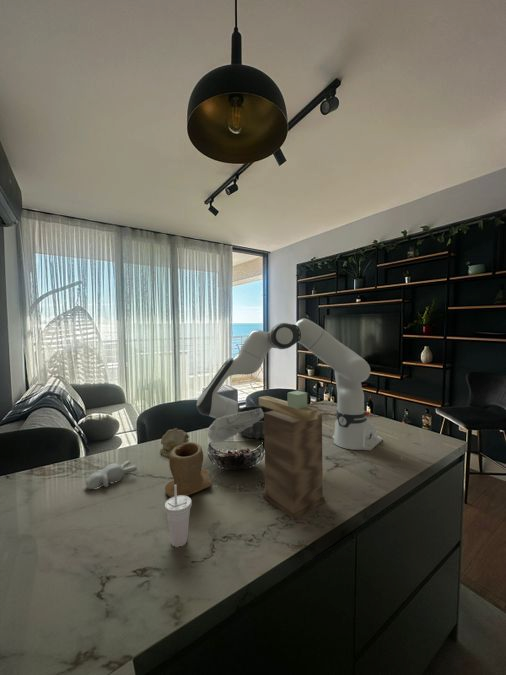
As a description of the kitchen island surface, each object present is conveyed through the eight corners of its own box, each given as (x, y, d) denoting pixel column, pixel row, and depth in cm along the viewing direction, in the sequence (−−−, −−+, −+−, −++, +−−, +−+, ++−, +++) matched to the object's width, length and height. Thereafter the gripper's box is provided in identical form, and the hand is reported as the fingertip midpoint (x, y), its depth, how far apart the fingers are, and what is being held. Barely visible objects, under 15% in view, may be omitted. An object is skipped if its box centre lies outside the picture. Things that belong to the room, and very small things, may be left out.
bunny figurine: (82, 472, 99) (127, 453, 109) (84, 487, 99) (129, 466, 110) (90, 483, 92) (137, 462, 102) (93, 498, 92) (139, 475, 103)
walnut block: (293, 483, 97) (292, 405, 96) (325, 501, 87) (324, 414, 86) (263, 497, 89) (261, 412, 88) (293, 519, 79) (292, 423, 78)
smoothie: (168, 533, 75) (166, 478, 74) (194, 531, 75) (192, 477, 75) (163, 552, 68) (161, 493, 68) (191, 550, 69) (189, 491, 68)
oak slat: (266, 403, 99) (266, 395, 99) (317, 418, 82) (317, 409, 82) (258, 404, 97) (258, 397, 97) (308, 421, 80) (308, 412, 80)
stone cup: (173, 508, 85) (172, 457, 84) (161, 489, 95) (160, 443, 94) (220, 491, 93) (219, 444, 93) (205, 475, 103) (204, 433, 103)
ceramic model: (154, 455, 120) (153, 431, 120) (167, 445, 131) (166, 422, 131) (186, 458, 117) (185, 433, 117) (197, 447, 128) (196, 424, 128)
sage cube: (297, 403, 88) (297, 390, 88) (307, 406, 85) (307, 392, 85) (287, 406, 86) (287, 392, 86) (297, 409, 83) (297, 395, 82)
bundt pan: (296, 429, 148) (296, 409, 148) (270, 447, 126) (270, 424, 126) (252, 420, 162) (251, 403, 162) (222, 436, 140) (221, 415, 140)
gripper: (205, 421, 110) (221, 410, 100) (249, 411, 122) (267, 399, 112) (210, 438, 107) (227, 428, 97) (254, 426, 120) (273, 416, 110)
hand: (249, 413), depth 105 cm, fingers open, 8 cm apart
